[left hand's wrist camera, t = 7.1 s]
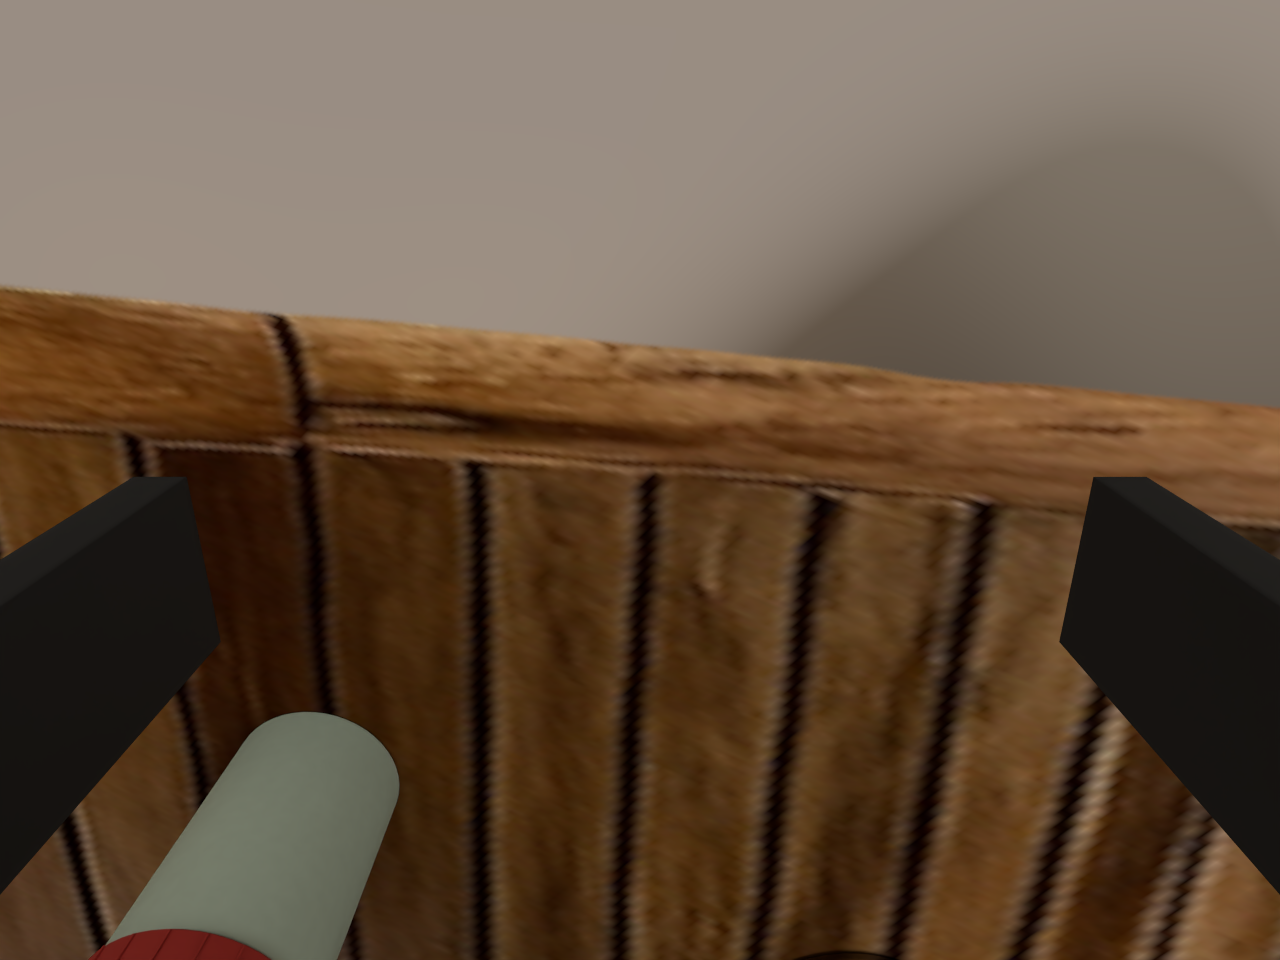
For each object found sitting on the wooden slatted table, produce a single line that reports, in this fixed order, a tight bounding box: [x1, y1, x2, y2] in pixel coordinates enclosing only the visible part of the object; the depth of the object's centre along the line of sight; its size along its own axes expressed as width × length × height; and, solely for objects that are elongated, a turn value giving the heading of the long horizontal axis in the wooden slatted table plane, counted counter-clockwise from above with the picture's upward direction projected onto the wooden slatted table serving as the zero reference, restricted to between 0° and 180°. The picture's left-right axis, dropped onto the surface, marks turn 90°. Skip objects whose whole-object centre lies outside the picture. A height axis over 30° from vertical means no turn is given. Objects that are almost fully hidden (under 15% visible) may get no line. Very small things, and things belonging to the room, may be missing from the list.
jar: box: [105, 712, 399, 960], centre depth 41 cm, size 9×9×16 cm
